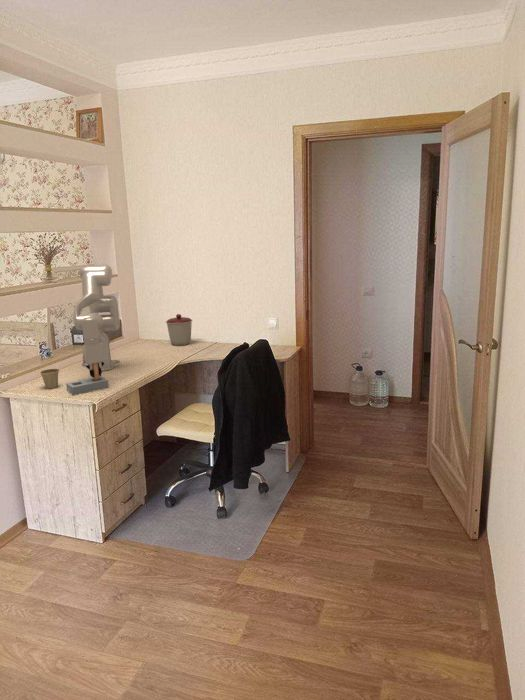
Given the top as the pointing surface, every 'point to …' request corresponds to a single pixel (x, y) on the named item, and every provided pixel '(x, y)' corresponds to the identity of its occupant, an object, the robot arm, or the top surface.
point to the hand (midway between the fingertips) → (96, 375)
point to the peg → (95, 372)
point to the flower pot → (50, 377)
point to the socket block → (86, 385)
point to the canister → (179, 330)
